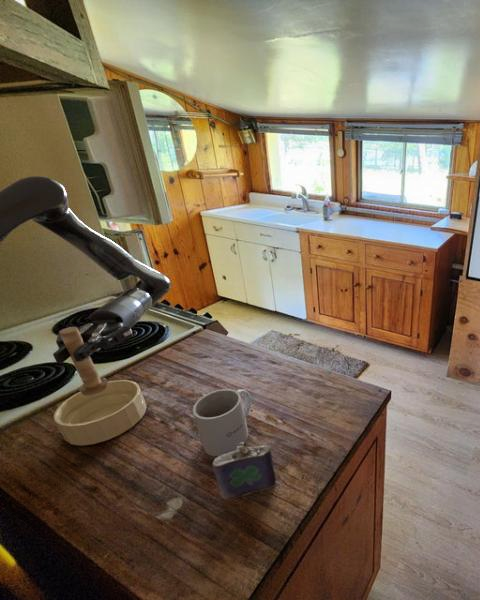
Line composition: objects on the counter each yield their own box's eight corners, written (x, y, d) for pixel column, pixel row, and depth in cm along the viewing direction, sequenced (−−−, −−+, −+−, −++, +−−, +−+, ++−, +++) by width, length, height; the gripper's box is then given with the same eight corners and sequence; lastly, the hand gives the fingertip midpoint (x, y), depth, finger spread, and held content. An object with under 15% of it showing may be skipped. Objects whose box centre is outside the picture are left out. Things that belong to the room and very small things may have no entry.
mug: (221, 462, 64) (211, 425, 60) (194, 445, 68) (182, 409, 64) (270, 421, 74) (264, 387, 70) (244, 408, 78) (237, 374, 74)
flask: (220, 502, 57) (208, 460, 53) (223, 488, 60) (211, 446, 55) (276, 487, 60) (269, 446, 56) (276, 474, 63) (269, 433, 58)
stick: (76, 396, 67) (46, 336, 61) (90, 383, 71) (63, 325, 65) (101, 394, 68) (73, 335, 62) (113, 381, 72) (88, 323, 66)
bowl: (47, 451, 65) (34, 430, 63) (92, 403, 77) (82, 383, 75) (127, 442, 68) (117, 421, 65) (158, 396, 80) (151, 377, 78)
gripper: (77, 304, 75) (14, 344, 60) (146, 300, 78) (102, 339, 62) (89, 332, 78) (32, 377, 63) (155, 328, 81) (115, 370, 66)
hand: (67, 358), depth 63 cm, fingers closed on stick, 2 cm apart
